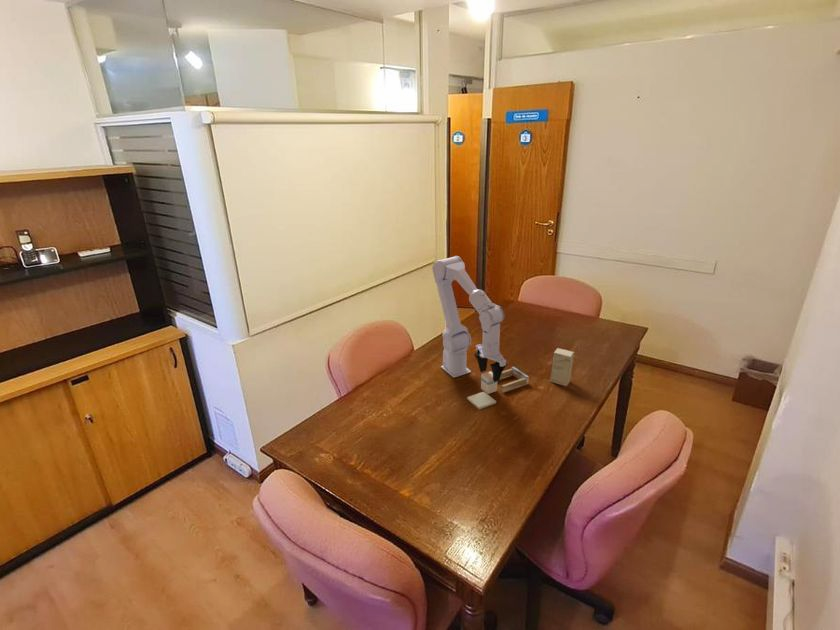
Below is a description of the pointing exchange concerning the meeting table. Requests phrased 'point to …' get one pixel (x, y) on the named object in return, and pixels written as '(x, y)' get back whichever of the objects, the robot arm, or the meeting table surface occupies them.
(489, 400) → the stand tile
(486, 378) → the block
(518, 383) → the shelf bay
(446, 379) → the meeting table surface
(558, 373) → the skincare box
